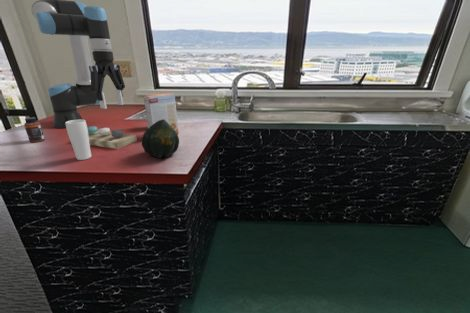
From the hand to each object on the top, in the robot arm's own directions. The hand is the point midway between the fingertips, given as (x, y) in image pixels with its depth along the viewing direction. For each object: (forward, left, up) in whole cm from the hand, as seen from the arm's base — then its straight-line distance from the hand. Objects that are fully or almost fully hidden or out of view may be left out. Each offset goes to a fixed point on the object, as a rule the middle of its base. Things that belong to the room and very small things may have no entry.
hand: (112, 106), depth 109 cm
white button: (-8, 0, -13) cm, 15 cm away
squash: (+27, -4, -18) cm, 33 cm away
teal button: (-16, 0, -13) cm, 21 cm away
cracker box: (+12, +18, -18) cm, 28 cm away
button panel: (-8, 0, -17) cm, 19 cm away
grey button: (0, 0, -13) cm, 13 cm away
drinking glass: (0, -19, -18) cm, 26 cm away
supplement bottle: (-40, -11, -18) cm, 45 cm away
